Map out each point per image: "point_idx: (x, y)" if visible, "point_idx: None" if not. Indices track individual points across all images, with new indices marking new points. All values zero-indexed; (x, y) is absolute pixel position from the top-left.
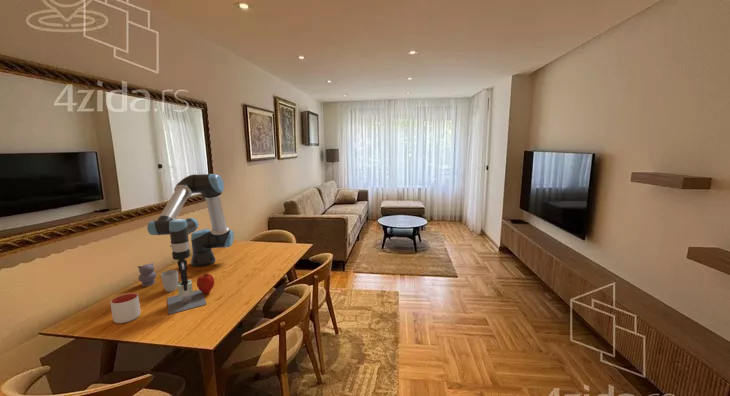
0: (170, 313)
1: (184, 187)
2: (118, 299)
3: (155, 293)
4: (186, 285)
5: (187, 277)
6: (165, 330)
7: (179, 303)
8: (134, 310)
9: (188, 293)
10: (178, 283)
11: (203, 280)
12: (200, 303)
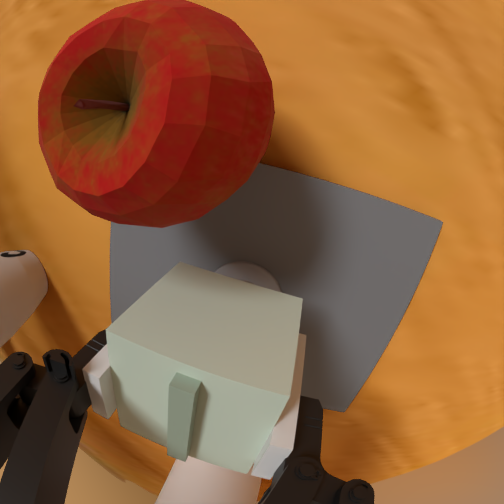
0: (347, 406)
1: None
2: None
3: (45, 331)
4: (318, 453)
5: (74, 368)
6: (458, 429)
7: None
8: (250, 496)
9: (303, 353)
10: (160, 441)
11: (217, 162)
12: (396, 249)
